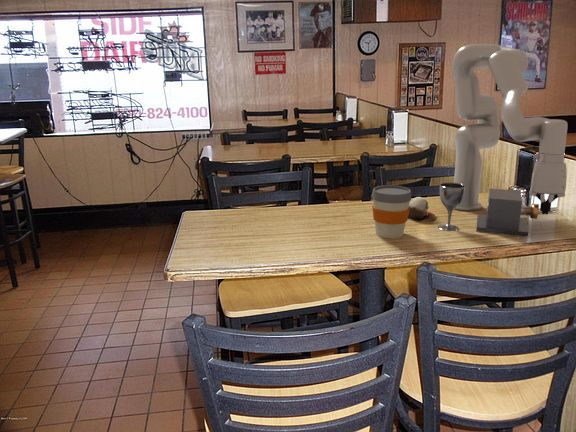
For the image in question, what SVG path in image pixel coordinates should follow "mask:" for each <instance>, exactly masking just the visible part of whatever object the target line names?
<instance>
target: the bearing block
mask: <svg viewBox="0 0 576 432" xmlns="http://www.w3.org/2000/svg"><path fill="white" fill-rule="evenodd" d="M487 199H488V200H487V203H488V212H486V214H481V213H480V214H479V213H478V214H477V215H476V216H477V217H476V228H475V229H476V230H475V232H478V233H479V232H480V233H490V234H498V235H507V236H519V237H528V238H529V232H530V231H529V228H528V224H527V223H528V222H527V219H526V218H525V217H521V208H522V206H523V198H522V192H521V190H517V189H515V190H513V189H503V188H502V189H501V188H489V190H488V198H487Z"/></svg>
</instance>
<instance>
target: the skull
mask: <svg viewBox="0 0 576 432" xmlns="http://www.w3.org/2000/svg"><path fill="white" fill-rule="evenodd" d="M409 207H410V209H409V214H408V219H407V220H412V221H416V222H420V223H427V222H433V221H434V220H435V219H436V218H437V216H436V215H435V213H433V212H431V211H428V210H429V208H430V207H429V202H428V201H427V200H426V198H424V197H421V196H416V197H414V198H413V199H411V200H410V203H409Z"/></svg>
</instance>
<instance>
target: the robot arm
mask: <svg viewBox="0 0 576 432" xmlns="http://www.w3.org/2000/svg"><path fill="white" fill-rule="evenodd" d="M451 64H452V65H451V67H452V68H451V69H452V76H453V80H454V87H455V100H456V101H455V102H456V112H457V115H458V118H459V119H460V120H462V121H477V122H476V123H471V124H469V123H468V124H465V125H463V126H461V127H459V128H458V129H457V130H456V132H455V136H454V145H455V163H454V164H455V165H454V174H453V175H454V176H453V183H460V184H463V185H465V189H464V195H463V199H462V201H461V203H460V204H459V205H458V206H457V207H456V208H455V209H454V210H457V211H467V212H469V211H479V210H481V209H482V207H483V204H482V203H480V201H479V196H480V186H481V179H482V178H481V176H482V168H483V167H482V166H483V158H482V155H481V152H480V150H483V149H490V148H493V147H495V146H496V145H497V144H498V142H499V140H500V135H501V128H500V115H501V120H502V123H503V125H504V127H505V129H506V131H507V134H508V135H509V137H511V138H512V139H513V140H514V141H516V142H521V143H523V142H530V141H539V146H538V147H539V148H538V152H537V153H535V154H533V157H532V158H533V159H535V160H537V161H535V163H534V166H533V169H532V175H531V182H530V189H529V193H528V194H529V196H532V197H536V198H537V199H538V200H539V202H540V204H539V206H540V207H539V212H541V213H542V215H549V212H551V209H552V207H551V206H552V203H553V202H554V201H555V200H557V199H559V198H565V196H566V190H567V175H568V174H567V173H568V172H567V163H566V162H564V161H565V160H564V159H565V150H566V143H567V135H568V128H569V127H568V121H566V120H564V119H559V118H557V119H555V118H554V119H552V118H551V119H550V118H547V117H542V116H534V117H532V116H531V117H524V114H523V112H522V110H521V107H520V103H519V102H520V97H522V96H523V95H524V94H525V93H526V92H527V91H528V89H529V84H528V82H527V81H526V79H525V76H524V75H523V74H524V73H525V72H526V70H527V69H528V66H529V58H528V55H527V54H526V53H525V52H524V50H523V51H522V49H521V50H520V49H516V48H513V47H508V46H504V45H501V44H495V43H471V44H467V45H464V46H461V47H460V48H459V49H458V50H457V51H456V53H455V54H454V56H453V59H452V63H451ZM475 69H489V71H490V73H491V75H492V77H493V79H494V81H495V83H496V84H495V85H496V86H497V87H498V90H499V92H500V94H501V97H502V101H501V106H500V111H501V112H500V113H499V105H498V102H497V100H496V98H495V97H494V96H492V95H491V94H488V93H481V88H480V81H479V78H478V75H477V74H476V72H475V71H474V70H475ZM545 195H548V197H547V199H546V198H545Z"/></svg>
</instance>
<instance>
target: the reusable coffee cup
mask: <svg viewBox="0 0 576 432" xmlns="http://www.w3.org/2000/svg"><path fill="white" fill-rule="evenodd" d="M371 199H372V207H371V209H372V218H373V220H374V227H375V229H374V230H375V235H376V236H378V237H381V238H384V239H400V238H402V237H403V236H404V231H405V227H406V223H407V222H408V220H409V219H408V214H409V209H410V207H409V203H410V202H411V201H412V191H411V189H410V188H408V187H405V186H402V185H389V184H388V185H387V184H386V185H377V186H375V187H373V189H372V193H371Z"/></svg>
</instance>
